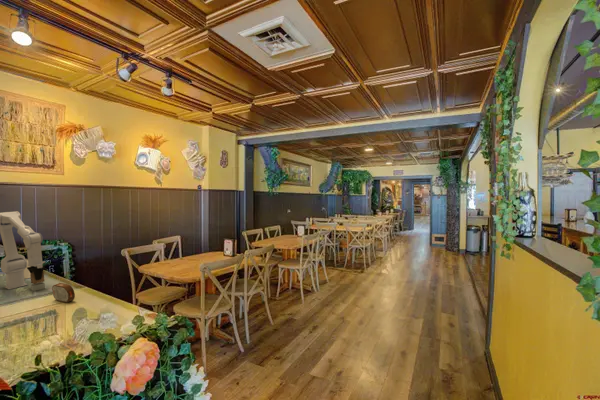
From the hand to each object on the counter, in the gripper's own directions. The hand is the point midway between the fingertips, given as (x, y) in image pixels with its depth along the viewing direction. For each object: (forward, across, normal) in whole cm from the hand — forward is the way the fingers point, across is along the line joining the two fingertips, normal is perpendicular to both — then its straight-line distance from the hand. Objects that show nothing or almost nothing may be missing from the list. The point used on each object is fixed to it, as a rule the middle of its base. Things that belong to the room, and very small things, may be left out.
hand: (37, 279), depth 157 cm
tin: (+6, -38, 0) cm, 39 cm away
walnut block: (+2, 0, 0) cm, 2 cm away
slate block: (+6, 0, 0) cm, 6 cm away
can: (+6, +38, -6) cm, 38 cm away
